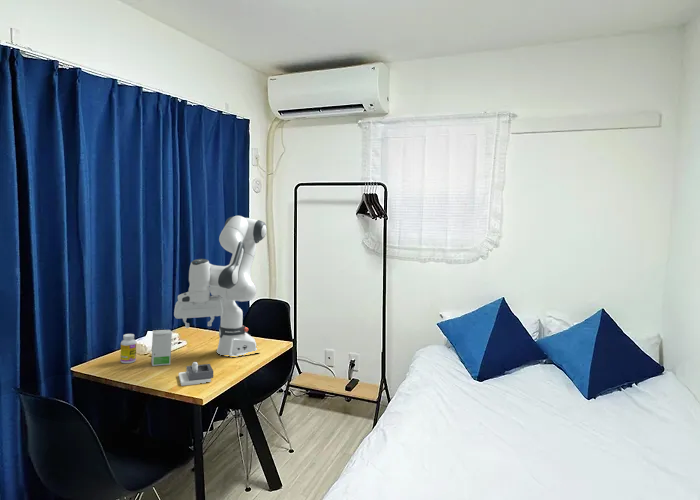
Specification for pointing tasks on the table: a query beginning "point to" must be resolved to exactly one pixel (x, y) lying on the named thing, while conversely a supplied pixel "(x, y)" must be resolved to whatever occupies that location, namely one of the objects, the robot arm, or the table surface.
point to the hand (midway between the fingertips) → (198, 326)
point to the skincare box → (161, 347)
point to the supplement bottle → (128, 349)
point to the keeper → (185, 380)
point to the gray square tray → (200, 372)
